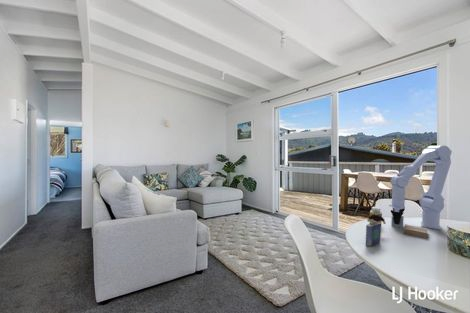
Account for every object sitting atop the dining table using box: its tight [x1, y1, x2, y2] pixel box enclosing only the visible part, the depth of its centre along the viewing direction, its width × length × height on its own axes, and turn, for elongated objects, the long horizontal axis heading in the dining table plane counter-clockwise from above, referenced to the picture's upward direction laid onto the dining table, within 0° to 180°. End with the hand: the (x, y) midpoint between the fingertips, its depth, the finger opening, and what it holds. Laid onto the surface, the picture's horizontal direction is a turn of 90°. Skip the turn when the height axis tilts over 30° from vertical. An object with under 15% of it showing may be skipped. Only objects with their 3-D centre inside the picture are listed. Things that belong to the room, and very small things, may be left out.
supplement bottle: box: [368, 206, 383, 225], centre depth 124 cm, size 6×6×10 cm
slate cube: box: [391, 215, 405, 229], centre depth 126 cm, size 5×5×5 cm
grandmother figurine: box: [367, 208, 386, 225], centre depth 113 cm, size 8×4×13 cm, turn 68°
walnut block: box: [402, 223, 428, 239], centre depth 114 cm, size 9×9×3 cm
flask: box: [365, 219, 382, 247], centre depth 100 cm, size 9×3×11 cm, turn 121°
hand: (397, 222), depth 126 cm, fingers open, 7 cm apart
